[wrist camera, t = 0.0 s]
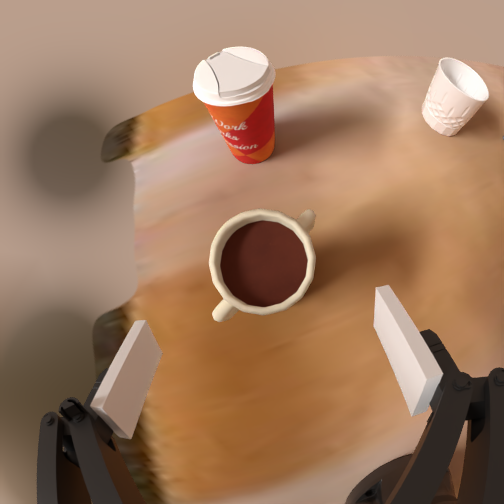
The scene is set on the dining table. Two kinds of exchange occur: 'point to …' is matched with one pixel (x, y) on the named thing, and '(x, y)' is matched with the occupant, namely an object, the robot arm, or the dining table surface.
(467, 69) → the white cup
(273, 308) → the character mug
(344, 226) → the dining table surface
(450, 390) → the robot arm
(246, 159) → the paper cup
